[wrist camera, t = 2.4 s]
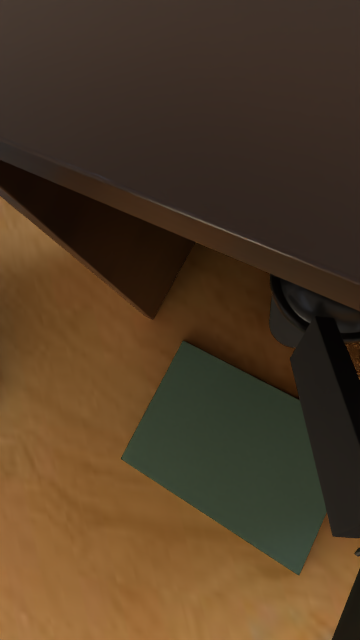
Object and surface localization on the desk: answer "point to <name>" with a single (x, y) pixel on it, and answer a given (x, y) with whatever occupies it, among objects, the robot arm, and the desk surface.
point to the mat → (233, 454)
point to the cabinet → (186, 136)
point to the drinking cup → (306, 313)
